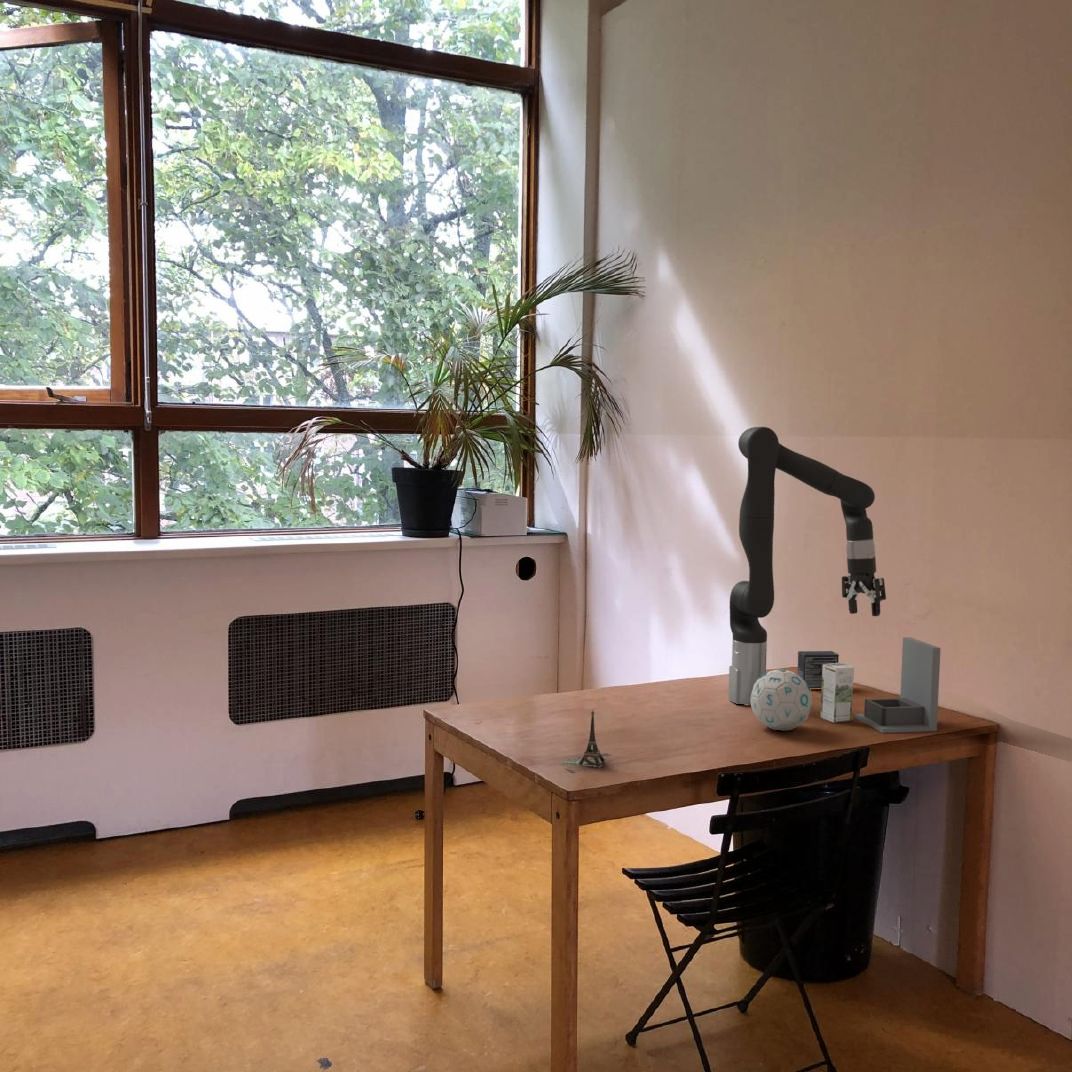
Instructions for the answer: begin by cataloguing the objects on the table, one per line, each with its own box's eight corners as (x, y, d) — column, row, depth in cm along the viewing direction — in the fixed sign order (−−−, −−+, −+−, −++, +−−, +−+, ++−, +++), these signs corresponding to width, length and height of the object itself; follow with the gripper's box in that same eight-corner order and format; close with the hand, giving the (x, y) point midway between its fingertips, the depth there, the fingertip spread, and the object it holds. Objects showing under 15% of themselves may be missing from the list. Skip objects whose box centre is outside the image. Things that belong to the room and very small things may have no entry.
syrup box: (837, 716, 286) (839, 661, 285) (852, 721, 281) (854, 666, 279) (819, 718, 284) (821, 663, 282) (834, 723, 278) (836, 667, 277)
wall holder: (882, 732, 270) (886, 649, 268) (854, 717, 285) (858, 638, 283) (936, 731, 272) (940, 648, 270) (906, 715, 287) (910, 637, 285)
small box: (831, 685, 323) (832, 650, 322) (838, 690, 316) (840, 654, 316) (796, 685, 322) (797, 650, 321) (803, 690, 316) (804, 654, 315)
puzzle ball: (755, 737, 265) (757, 676, 263) (744, 721, 280) (746, 663, 278) (818, 737, 265) (820, 677, 263) (803, 721, 280) (805, 664, 278)
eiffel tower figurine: (609, 755, 250) (610, 697, 249) (632, 767, 241) (633, 707, 240) (550, 763, 243) (551, 704, 242) (572, 775, 234) (573, 714, 233)
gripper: (832, 556, 304) (836, 614, 305) (869, 558, 291) (873, 618, 292) (853, 553, 307) (856, 611, 308) (890, 555, 294) (894, 615, 295)
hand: (864, 614), depth 300 cm, fingers open, 8 cm apart
